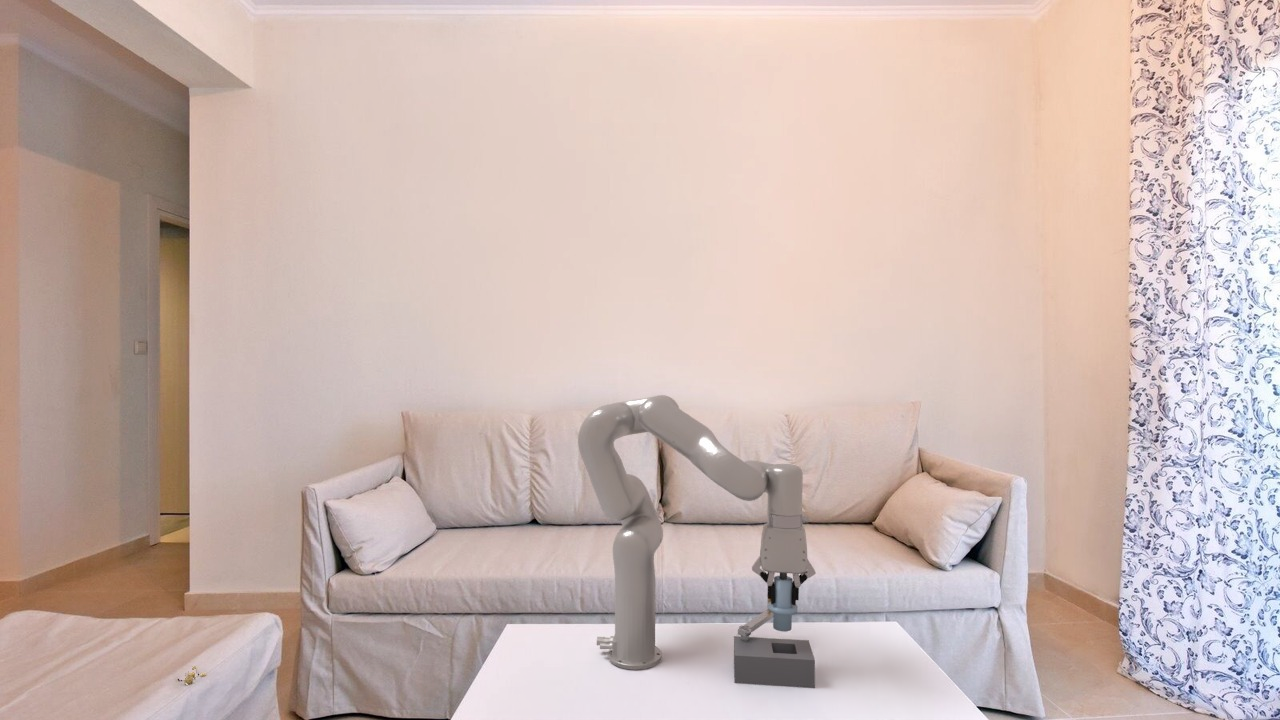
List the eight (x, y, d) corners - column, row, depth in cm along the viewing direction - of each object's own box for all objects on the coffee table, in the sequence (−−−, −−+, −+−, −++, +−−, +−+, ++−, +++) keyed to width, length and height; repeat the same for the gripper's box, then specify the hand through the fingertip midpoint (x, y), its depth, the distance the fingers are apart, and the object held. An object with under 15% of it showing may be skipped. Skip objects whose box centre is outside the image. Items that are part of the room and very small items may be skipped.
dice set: (187, 688, 141) (187, 679, 141) (171, 684, 143) (171, 675, 143) (210, 677, 146) (210, 669, 146) (194, 674, 148) (194, 665, 148)
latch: (747, 637, 149) (748, 605, 149) (735, 633, 151) (735, 602, 151) (782, 612, 164) (783, 583, 164) (771, 609, 166) (771, 581, 166)
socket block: (734, 683, 143) (734, 649, 143) (733, 661, 153) (733, 630, 153) (814, 688, 141) (814, 654, 141) (808, 666, 151) (808, 635, 151)
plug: (768, 632, 144) (769, 571, 144) (766, 621, 151) (767, 562, 150) (798, 634, 143) (799, 572, 143) (795, 623, 150) (796, 563, 150)
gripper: (820, 518, 149) (818, 598, 150) (745, 514, 152) (744, 594, 152) (825, 526, 142) (823, 611, 142) (747, 522, 144) (745, 606, 144)
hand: (782, 601), depth 147 cm, fingers closed on plug, 4 cm apart
